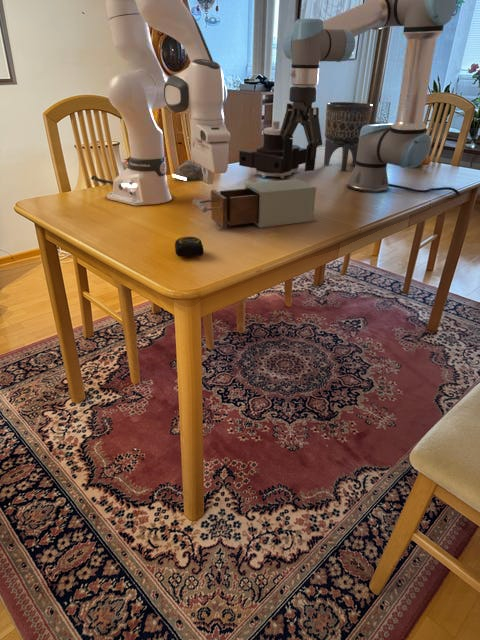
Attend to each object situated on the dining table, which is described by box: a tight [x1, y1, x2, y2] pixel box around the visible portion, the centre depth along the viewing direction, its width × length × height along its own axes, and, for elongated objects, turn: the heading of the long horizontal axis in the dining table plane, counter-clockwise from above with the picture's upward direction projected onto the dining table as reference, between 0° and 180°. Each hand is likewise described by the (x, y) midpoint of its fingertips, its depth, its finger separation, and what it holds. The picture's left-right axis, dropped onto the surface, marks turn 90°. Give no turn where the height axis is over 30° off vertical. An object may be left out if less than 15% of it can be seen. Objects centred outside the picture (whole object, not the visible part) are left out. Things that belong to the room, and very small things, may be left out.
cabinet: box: [244, 178, 317, 229], centre depth 139 cm, size 18×11×10 cm, turn 113°
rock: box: [175, 159, 204, 182], centre depth 183 cm, size 13×9×6 cm, turn 131°
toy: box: [417, 157, 432, 168], centre depth 216 cm, size 11×6×15 cm
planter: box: [323, 101, 374, 172], centre depth 204 cm, size 20×20×26 cm
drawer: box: [192, 188, 260, 229], centre depth 133 cm, size 23×10×8 cm, turn 113°
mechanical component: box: [238, 120, 307, 179], centre depth 191 cm, size 22×21×30 cm
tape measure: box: [174, 236, 205, 258], centre depth 113 cm, size 7×7×4 cm
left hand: (208, 183), depth 127 cm, fingers closed
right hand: (297, 166), depth 135 cm, fingers open, 13 cm apart
